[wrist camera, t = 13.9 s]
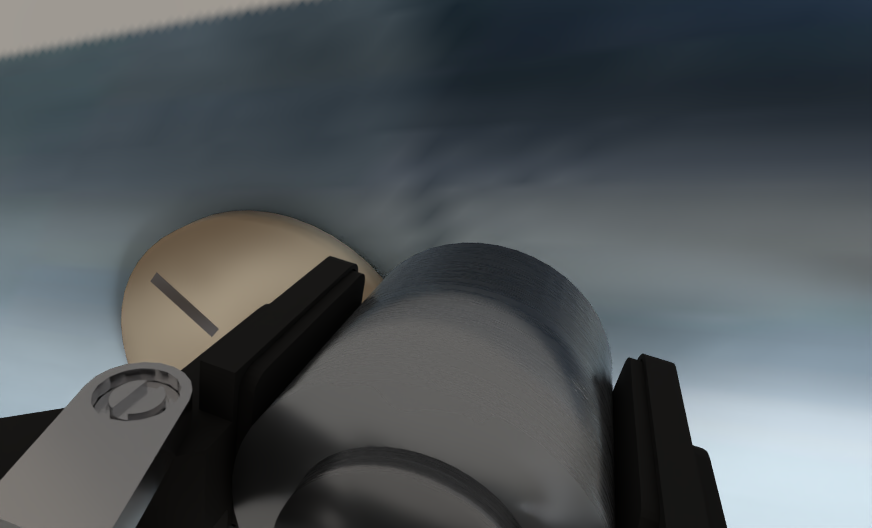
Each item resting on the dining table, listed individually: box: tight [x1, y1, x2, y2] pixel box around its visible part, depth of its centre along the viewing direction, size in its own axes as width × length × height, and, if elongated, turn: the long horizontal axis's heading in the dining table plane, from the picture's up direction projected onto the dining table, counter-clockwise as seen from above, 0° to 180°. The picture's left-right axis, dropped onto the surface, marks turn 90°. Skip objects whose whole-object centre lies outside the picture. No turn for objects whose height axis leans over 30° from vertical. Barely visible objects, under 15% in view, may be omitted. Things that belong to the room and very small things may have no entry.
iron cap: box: [232, 243, 616, 528], centre depth 9 cm, size 5×5×5 cm
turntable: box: [121, 210, 383, 370], centre depth 27 cm, size 16×16×4 cm
